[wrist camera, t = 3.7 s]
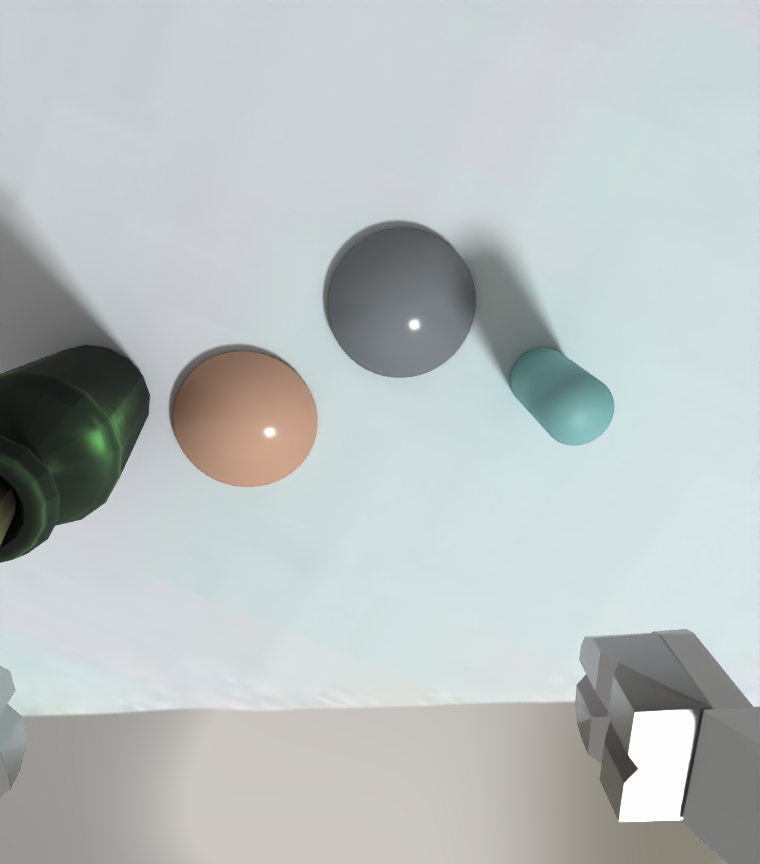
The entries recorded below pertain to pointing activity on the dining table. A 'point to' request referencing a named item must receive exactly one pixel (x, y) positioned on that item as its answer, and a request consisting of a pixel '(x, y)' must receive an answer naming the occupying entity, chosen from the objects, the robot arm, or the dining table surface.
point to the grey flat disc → (401, 302)
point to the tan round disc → (245, 419)
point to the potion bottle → (64, 440)
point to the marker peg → (562, 396)
